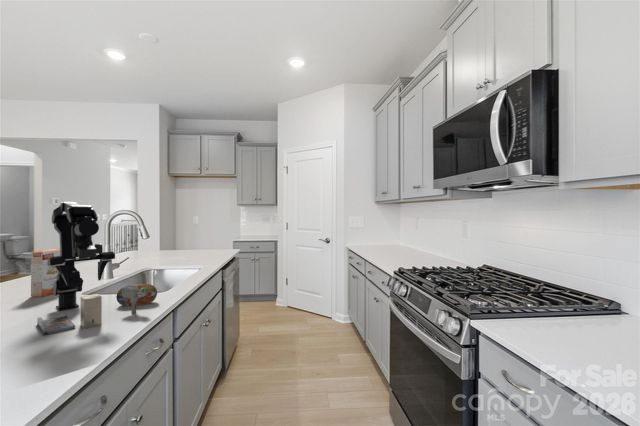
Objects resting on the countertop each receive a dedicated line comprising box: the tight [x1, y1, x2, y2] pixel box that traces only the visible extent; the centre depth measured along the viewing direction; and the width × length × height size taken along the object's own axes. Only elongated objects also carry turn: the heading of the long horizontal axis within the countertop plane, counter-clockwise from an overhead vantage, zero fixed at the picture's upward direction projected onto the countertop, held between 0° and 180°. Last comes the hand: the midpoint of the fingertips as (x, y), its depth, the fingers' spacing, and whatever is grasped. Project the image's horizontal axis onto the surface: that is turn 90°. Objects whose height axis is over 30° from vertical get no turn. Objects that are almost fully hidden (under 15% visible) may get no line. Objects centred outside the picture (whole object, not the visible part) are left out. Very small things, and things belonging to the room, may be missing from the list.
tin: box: [116, 283, 158, 307], centre depth 133 cm, size 15×3×8 cm, turn 111°
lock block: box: [80, 293, 103, 329], centre depth 109 cm, size 5×5×10 cm
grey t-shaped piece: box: [120, 285, 147, 314], centre depth 122 cm, size 3×10×10 cm, turn 79°
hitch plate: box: [36, 315, 76, 336], centre depth 107 cm, size 14×8×2 cm, turn 49°
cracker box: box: [30, 247, 60, 298], centre depth 148 cm, size 14×6×21 cm, turn 179°
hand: (84, 282), depth 110 cm, fingers open, 9 cm apart
